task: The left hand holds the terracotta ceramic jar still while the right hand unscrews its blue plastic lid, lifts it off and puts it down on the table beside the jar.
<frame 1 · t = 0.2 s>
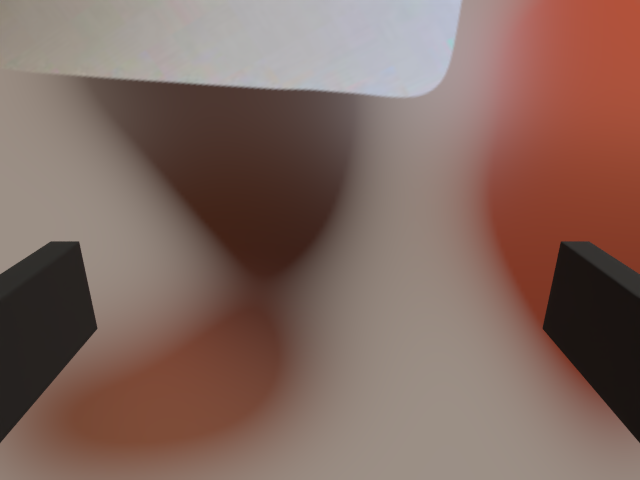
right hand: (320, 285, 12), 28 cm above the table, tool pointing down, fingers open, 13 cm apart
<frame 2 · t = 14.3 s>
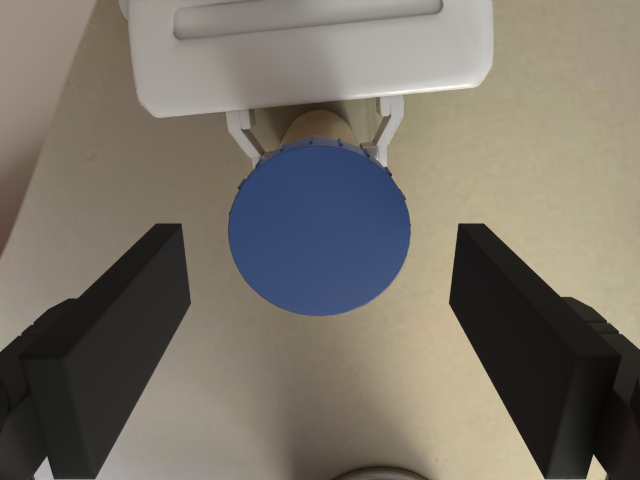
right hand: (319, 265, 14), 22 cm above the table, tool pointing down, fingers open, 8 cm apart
jar: (319, 146, 34), on the table, touching left hand
lid: (319, 233, 16), point 19 cm above the table, screwed on, not yet turned
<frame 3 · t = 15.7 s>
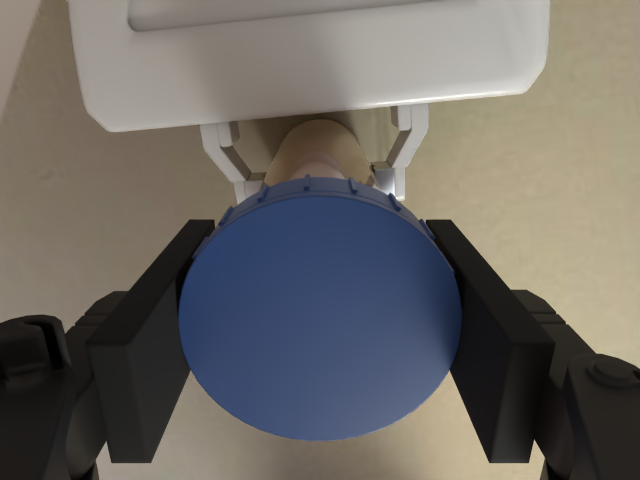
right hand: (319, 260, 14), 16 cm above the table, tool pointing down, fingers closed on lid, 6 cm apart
jar: (320, 162, 28), on the table, touching left hand
lid: (320, 324, 11), point 19 cm above the table, screwed on, not yet turned, touching right hand
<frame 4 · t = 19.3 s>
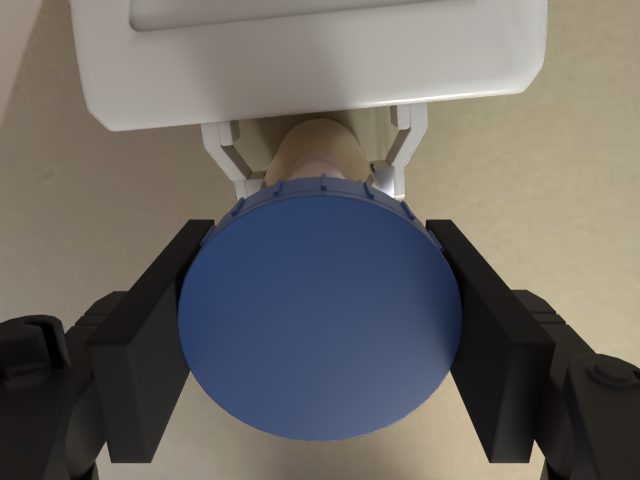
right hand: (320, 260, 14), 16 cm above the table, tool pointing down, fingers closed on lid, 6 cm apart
jar: (320, 161, 29), on the table, touching left hand
lid: (319, 324, 11), point 19 cm above the table, turned 119° so far, risen 0.2 cm, still on its thread, touching right hand
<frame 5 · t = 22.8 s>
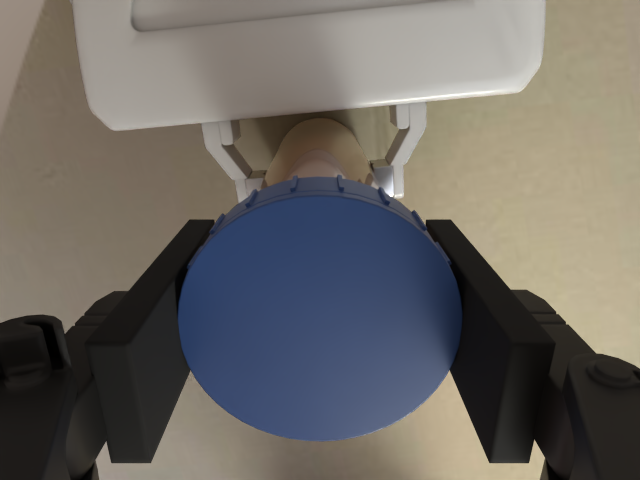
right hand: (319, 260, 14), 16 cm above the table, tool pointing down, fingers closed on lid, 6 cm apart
jar: (320, 160, 29), on the table, touching left hand
lid: (319, 324, 11), point 20 cm above the table, turned 239° so far, risen 0.4 cm, still on its thread, touching right hand
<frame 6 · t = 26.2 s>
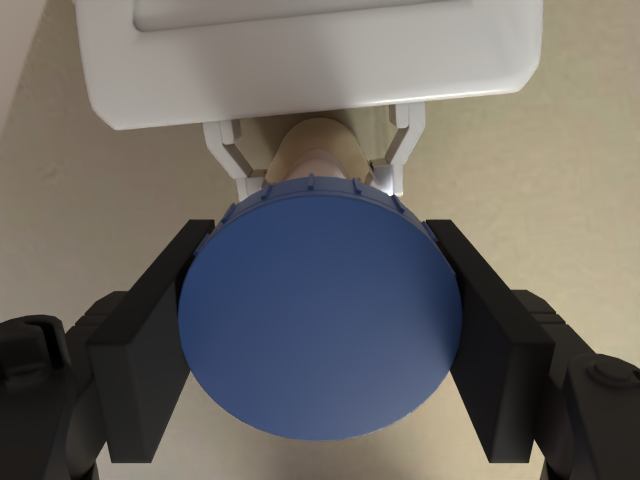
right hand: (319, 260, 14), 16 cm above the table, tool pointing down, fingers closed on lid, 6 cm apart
jar: (320, 160, 29), on the table, touching left hand
lid: (320, 324, 11), point 20 cm above the table, turned 358° so far, risen 0.6 cm, still on its thread, touching right hand
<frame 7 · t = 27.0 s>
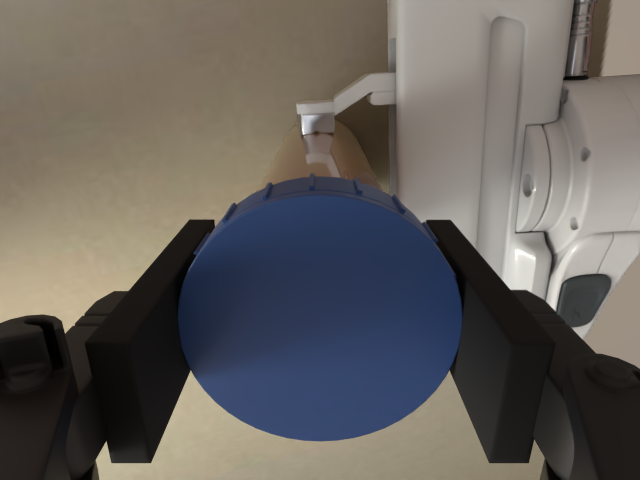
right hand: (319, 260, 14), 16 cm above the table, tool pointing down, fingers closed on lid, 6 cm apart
jar: (320, 159, 29), on the table, touching left hand
lid: (320, 324, 11), point 20 cm above the table, turned 450° so far, risen 0.7 cm, still on its thread, touching right hand
when the right hand's fingers open (0 cm above the table, at t = 34.2 s): lid drops 2 cm, point 1 cm above the table.
when the left hand's fingers open (7 cm above the table, at t = 34.9 s): jar stays where it is, on the table.
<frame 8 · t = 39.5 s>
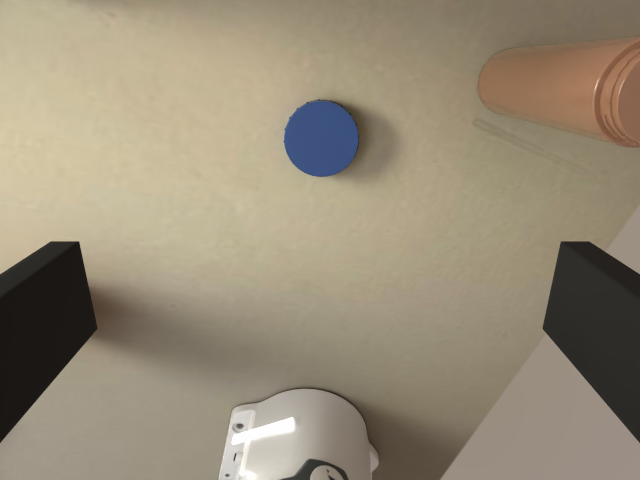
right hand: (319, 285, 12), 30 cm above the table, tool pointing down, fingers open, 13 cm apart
jar: (509, 82, 39), on the table
lid: (321, 139, 39), point 1 cm above the table, off its thread
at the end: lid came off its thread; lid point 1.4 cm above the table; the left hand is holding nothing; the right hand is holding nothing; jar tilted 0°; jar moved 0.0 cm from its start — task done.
